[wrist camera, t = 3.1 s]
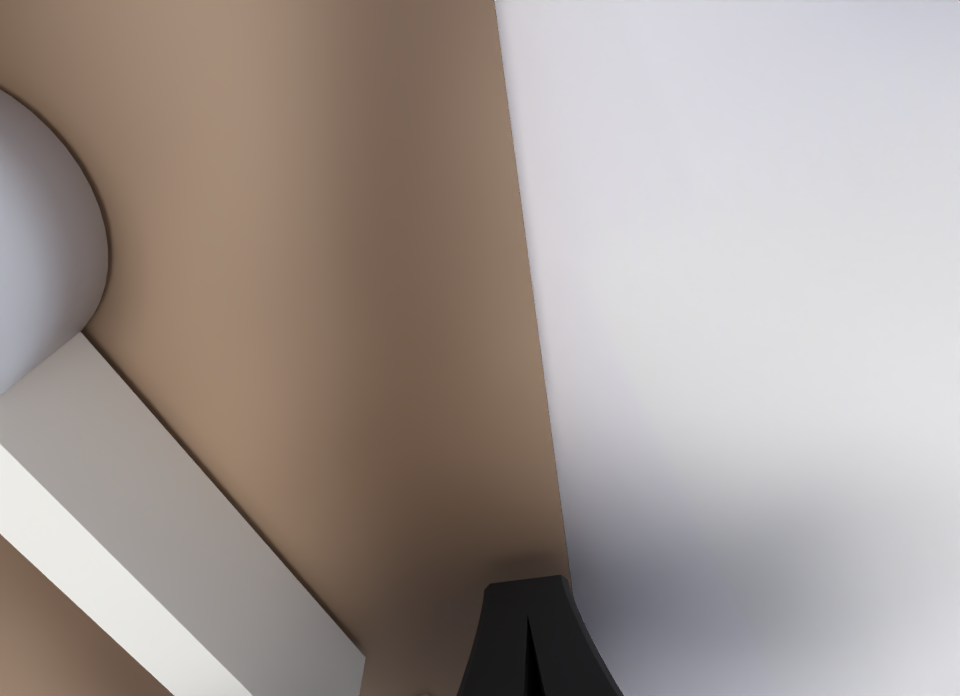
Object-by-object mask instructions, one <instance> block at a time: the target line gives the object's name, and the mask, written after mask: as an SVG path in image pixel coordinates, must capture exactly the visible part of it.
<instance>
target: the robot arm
mask: <svg viewBox="0 0 960 696" xmlns="http://www.w3.org/2000/svg"><path fill="white" fill-rule="evenodd" d="M457 696H623V694H622V692H621V691H620V689H619V687H618V686H617V684H616V682H615V681H614V679H613V677H612V675H611V674H610V672H609V670H608V668H607V667H606V665H605V663H604V661H603V660H602V658H601V656H600V654H599V652H598V651H597V649H596V647H595V645H594V643H593V641H592V639H591V637H590V635H589V633H588V631H587V629H586V627H585V624H584V622H583V620H582V618H581V616H580V613H579V611H578V609H577V606H576V604H575V601H574V598H573V595H572V593H571V590H570V586H569V582H568V579H567V578H565V577H564V576H562V575H554V576H546V577H538V578H530V579H522V580H514V581H506V582H498V583H491V584H489V585H488V586H487V587H486V588H485V589H484V597H483V603H482V609H481V614H480V619H479V623H478V627H477V631H476V635H475V638H474V642H473V646H472V649H471V653H470V656H469V659H468V662H467V665H466V669H465V672H464V675H463V678H462V681H461V684H460V687H459V690H458V693H457Z"/></svg>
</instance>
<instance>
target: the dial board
mask: <svg viewBox="0 0 960 696" xmlns="http://www.w3.org/2000/svg"><path fill="white" fill-rule="evenodd" d="M0 89H1V90H2V91H4V92H5V93H7V94H9V95H10V96H12V97H13V98H14V99H16V100H17V101H18V102H20V103H21V104H22V105H23V106H25V107H26V108H27V109H29V110H30V111H31V112H32V113H33V114H34V115H36V116H37V117H38V118H39V119H40V120H41V121H42V122H43V123H44V124H45V125H46V126H47V127H48V128H49V129H50V130H51V131H52V132H53V133H54V134H55V135H56V137H57V138H58V139H59V140H60V141H61V142H62V143H63V145H64V146H65V147H66V148H67V150H68V151H69V153H70V154H71V155H72V157H73V158H74V160H75V161H76V162H77V164H78V165H79V167H80V168H81V170H82V172H83V174H84V176H85V177H86V179H87V181H88V183H89V185H90V186H91V189H92V191H93V193H94V196H95V198H96V201H97V203H98V205H99V208H100V211H101V215H102V219H103V222H104V226H105V231H106V238H107V244H108V271H107V278H106V284H105V288H104V291H103V294H102V297H101V301H100V303H99V305H98V307H97V309H96V311H95V313H94V315H93V316H92V318H91V319H90V320H89V322H88V323H87V324H86V326H85V327H84V328H83V330H81V331H80V332H81V333H82V334H83V335H84V336H85V337H86V338H87V340H88V341H89V342H90V343H91V344H92V345H93V346H94V348H95V349H96V350H97V351H98V352H99V353H100V354H101V356H102V357H103V358H104V359H105V360H106V361H107V362H108V364H109V365H110V366H111V367H112V368H113V369H114V370H115V372H116V373H117V374H118V375H119V376H120V377H121V378H122V380H123V381H124V382H125V383H126V384H127V385H128V386H129V388H130V389H131V390H132V391H133V392H134V393H135V394H136V396H137V397H138V398H139V399H140V400H141V401H142V402H143V404H144V405H145V406H146V407H147V408H148V409H149V410H150V412H151V413H152V414H153V415H154V416H155V417H156V418H157V420H158V421H159V422H160V423H161V424H162V425H163V426H164V428H165V429H166V430H167V431H168V432H169V433H170V434H171V436H172V437H173V438H174V439H175V440H176V441H177V442H178V444H179V445H180V446H181V447H182V448H183V449H184V450H185V452H186V453H187V454H188V455H189V456H190V457H191V458H192V460H193V461H194V462H195V463H196V464H197V465H198V466H199V468H200V469H201V470H202V471H203V472H204V473H205V474H206V476H207V477H208V478H209V479H210V480H211V481H212V482H213V484H214V485H215V486H216V487H217V488H218V489H219V490H220V492H221V493H222V494H223V495H224V496H225V497H226V499H227V500H228V501H229V502H230V503H231V504H232V505H233V507H234V508H235V509H236V510H237V511H238V512H239V513H240V515H241V516H242V517H243V518H244V519H245V520H246V521H247V523H248V524H249V525H250V526H251V527H252V528H253V529H254V531H255V532H256V533H257V534H258V535H259V536H260V537H261V539H262V540H263V541H264V542H265V543H266V544H267V545H268V547H269V548H270V549H271V550H272V551H273V552H274V553H275V555H276V556H277V557H278V558H279V559H280V560H281V561H282V563H283V564H284V565H285V566H286V567H287V568H288V569H289V571H290V572H291V573H292V574H293V575H294V576H295V577H296V579H297V580H298V581H299V582H300V583H301V584H302V585H303V587H304V588H305V589H306V590H307V591H308V592H309V593H310V595H311V596H312V597H313V598H314V599H315V600H316V601H317V603H318V604H319V605H320V606H321V607H322V608H323V609H324V611H325V612H326V613H327V614H328V615H329V616H330V617H331V619H332V620H333V621H334V622H335V623H336V624H337V625H338V627H339V628H340V629H341V630H342V631H343V632H344V633H345V635H346V636H347V637H348V638H349V639H350V640H351V641H352V643H353V644H354V645H355V646H356V647H357V648H358V649H359V651H360V652H361V653H362V654H363V655H364V656H365V657H366V658H365V664H364V670H363V676H362V682H361V688H360V695H359V696H457V693H458V690H459V687H460V684H461V681H462V678H463V675H464V672H465V669H466V665H467V662H468V659H469V656H470V653H471V649H472V646H473V642H474V638H475V635H476V631H477V627H478V623H479V619H480V614H481V609H482V603H483V597H484V589H485V588H486V587H487V586H488V585H489V584H491V583H498V582H506V581H514V580H522V579H530V578H538V577H546V576H554V575H562V576H564V577H565V578H567V579H568V582H569V586H570V590H571V593H572V585H571V577H570V570H569V562H568V555H567V547H566V540H565V532H564V525H563V517H562V509H561V502H560V494H559V487H558V479H557V472H556V464H555V457H554V449H553V441H552V434H551V426H550V419H549V411H548V404H547V396H546V388H545V381H544V373H543V366H542V358H541V351H540V343H539V336H538V328H537V320H536V313H535V305H534V298H533V290H532V283H531V275H530V267H529V260H528V252H527V245H526V237H525V230H524V222H523V215H522V207H521V199H520V192H519V184H518V177H517V169H516V162H515V154H514V146H513V139H512V131H511V124H510V116H509V109H508V101H507V94H506V86H505V78H504V71H503V63H502V56H501V48H500V41H499V33H498V26H497V18H496V10H495V3H494V0H0ZM572 595H573V593H572ZM0 696H174V695H173V694H172V693H171V692H170V691H169V690H168V689H167V688H166V687H165V686H163V685H162V684H161V683H160V682H159V681H158V680H157V679H156V678H155V677H154V676H153V675H152V674H151V673H149V672H148V671H147V670H146V669H145V668H144V667H143V666H142V665H141V664H140V663H139V662H138V661H137V660H135V659H134V658H133V657H132V656H131V655H130V654H129V653H128V652H127V651H126V650H125V649H124V648H123V647H121V646H120V645H119V644H118V643H117V642H116V641H115V640H114V639H113V638H112V637H111V636H110V635H109V634H107V633H106V632H105V631H104V630H103V629H102V628H101V627H100V626H99V625H98V624H97V623H96V622H95V621H93V620H92V619H91V618H90V617H89V616H88V615H87V614H86V613H85V612H84V611H83V610H82V609H81V608H79V607H78V606H77V605H76V604H75V603H74V602H73V601H72V600H71V599H70V598H69V597H68V596H67V595H65V594H64V593H63V592H62V591H61V590H60V589H59V588H58V587H57V586H56V585H55V584H54V583H53V582H52V581H50V580H49V579H48V578H47V577H46V576H45V575H44V574H43V573H42V572H41V571H40V570H39V569H38V568H36V567H35V566H34V565H33V564H32V563H31V562H30V561H29V560H28V559H27V558H26V557H25V556H24V555H22V554H21V553H20V552H19V551H18V550H17V549H16V548H15V547H14V546H13V545H12V544H11V543H10V542H8V541H7V540H6V539H5V538H4V537H3V536H2V535H1V534H0Z"/></svg>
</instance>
